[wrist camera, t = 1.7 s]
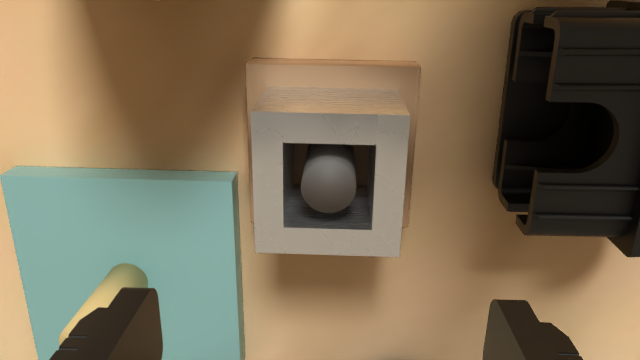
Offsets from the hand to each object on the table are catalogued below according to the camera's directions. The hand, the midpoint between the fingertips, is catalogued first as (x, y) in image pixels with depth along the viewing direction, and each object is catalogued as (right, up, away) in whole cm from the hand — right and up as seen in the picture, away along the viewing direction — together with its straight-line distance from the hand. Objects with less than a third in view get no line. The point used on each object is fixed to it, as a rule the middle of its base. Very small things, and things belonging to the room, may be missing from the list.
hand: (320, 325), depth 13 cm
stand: (+1, +6, +15) cm, 16 cm away
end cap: (+13, +7, +14) cm, 20 cm away
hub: (-11, -2, +18) cm, 21 cm away
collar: (+1, +5, +13) cm, 14 cm away
